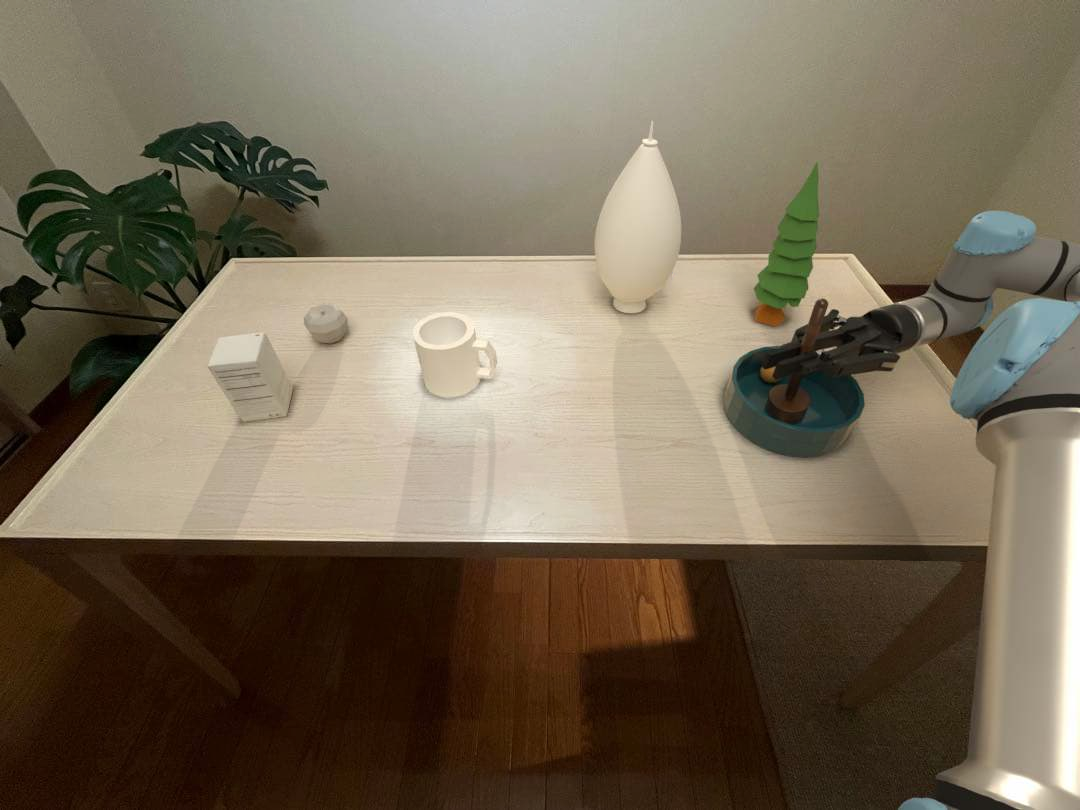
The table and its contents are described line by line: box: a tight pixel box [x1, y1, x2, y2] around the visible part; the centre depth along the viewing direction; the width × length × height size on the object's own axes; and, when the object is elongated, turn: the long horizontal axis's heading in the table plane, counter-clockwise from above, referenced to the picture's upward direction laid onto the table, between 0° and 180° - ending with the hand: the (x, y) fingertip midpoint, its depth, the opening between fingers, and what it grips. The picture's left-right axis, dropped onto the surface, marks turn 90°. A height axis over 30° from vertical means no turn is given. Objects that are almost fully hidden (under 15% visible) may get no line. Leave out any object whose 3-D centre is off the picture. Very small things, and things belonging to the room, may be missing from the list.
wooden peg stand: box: [766, 297, 829, 424], centre depth 76 cm, size 6×6×22 cm
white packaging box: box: [206, 331, 294, 423], centre depth 85 cm, size 7×7×13 cm
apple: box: [303, 303, 349, 344], centre depth 100 cm, size 8×8×7 cm
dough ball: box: [760, 367, 781, 383], centre depth 89 cm, size 4×4×4 cm
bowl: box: [723, 345, 866, 459], centre depth 84 cm, size 19×20×6 cm
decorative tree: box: [753, 161, 820, 327], centre depth 93 cm, size 10×9×30 cm
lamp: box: [594, 120, 682, 314], centre depth 96 cm, size 16×16×35 cm
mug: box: [412, 311, 498, 399], centre depth 89 cm, size 14×10×11 cm
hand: (771, 365), depth 74 cm, fingers closed on wooden peg stand, 2 cm apart
